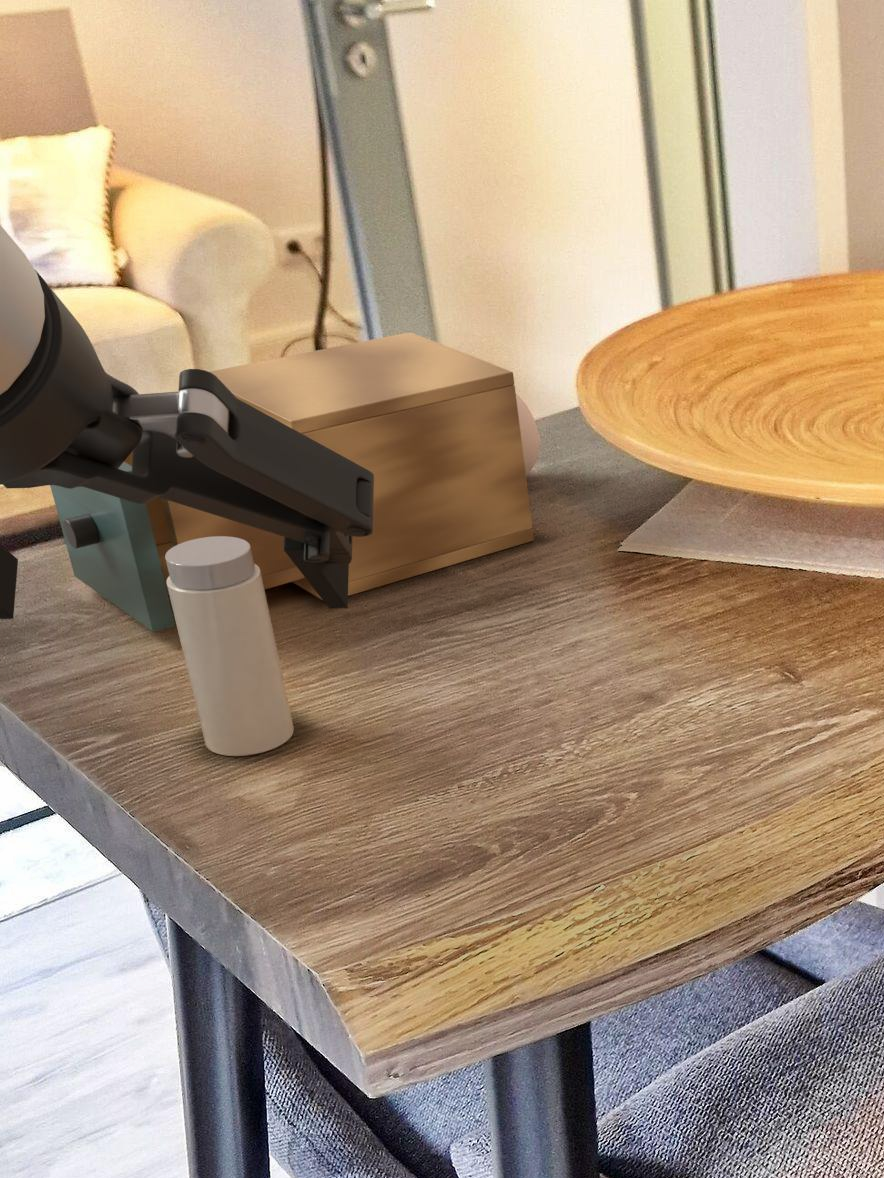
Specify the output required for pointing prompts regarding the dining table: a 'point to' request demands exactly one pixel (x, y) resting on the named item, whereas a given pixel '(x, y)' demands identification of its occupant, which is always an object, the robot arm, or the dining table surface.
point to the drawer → (149, 547)
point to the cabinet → (407, 446)
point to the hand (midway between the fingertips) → (175, 584)
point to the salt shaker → (228, 645)
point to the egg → (528, 435)
